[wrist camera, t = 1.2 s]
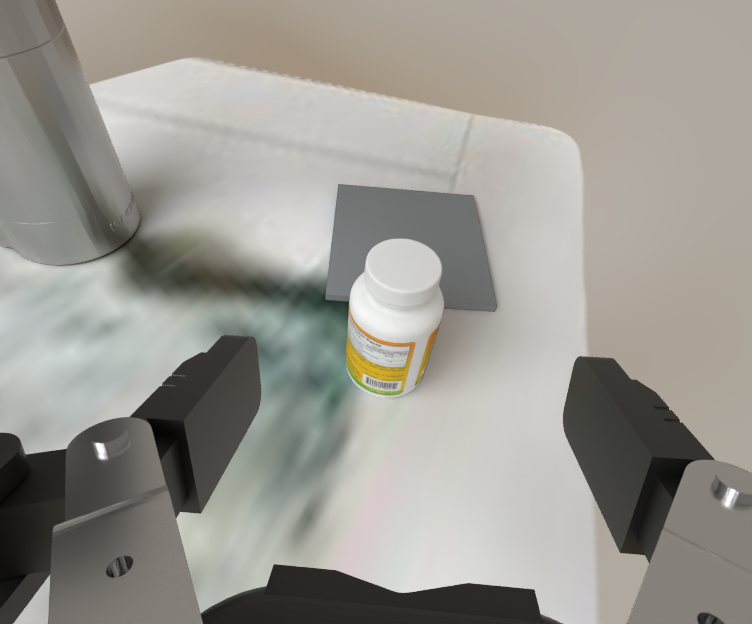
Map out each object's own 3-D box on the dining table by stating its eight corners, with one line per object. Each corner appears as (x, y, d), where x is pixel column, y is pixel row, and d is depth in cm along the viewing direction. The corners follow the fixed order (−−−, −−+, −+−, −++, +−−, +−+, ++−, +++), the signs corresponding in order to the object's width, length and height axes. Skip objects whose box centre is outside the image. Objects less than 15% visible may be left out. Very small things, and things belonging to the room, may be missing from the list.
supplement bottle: (396, 323, 33) (417, 218, 25) (439, 379, 30) (477, 280, 22) (331, 351, 31) (333, 246, 23) (371, 414, 28) (387, 317, 20)
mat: (325, 299, 33) (325, 294, 33) (338, 189, 42) (338, 184, 42) (494, 311, 34) (496, 306, 34) (472, 200, 43) (473, 195, 43)
